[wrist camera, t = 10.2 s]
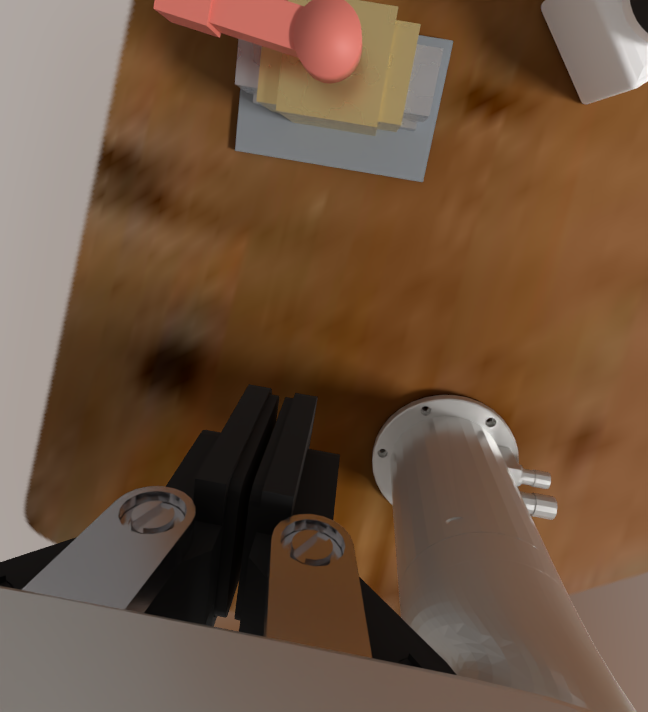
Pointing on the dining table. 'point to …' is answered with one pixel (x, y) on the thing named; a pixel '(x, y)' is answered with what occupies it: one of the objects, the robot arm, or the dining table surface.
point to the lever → (281, 29)
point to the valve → (350, 78)
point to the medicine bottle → (601, 44)
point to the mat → (343, 136)
